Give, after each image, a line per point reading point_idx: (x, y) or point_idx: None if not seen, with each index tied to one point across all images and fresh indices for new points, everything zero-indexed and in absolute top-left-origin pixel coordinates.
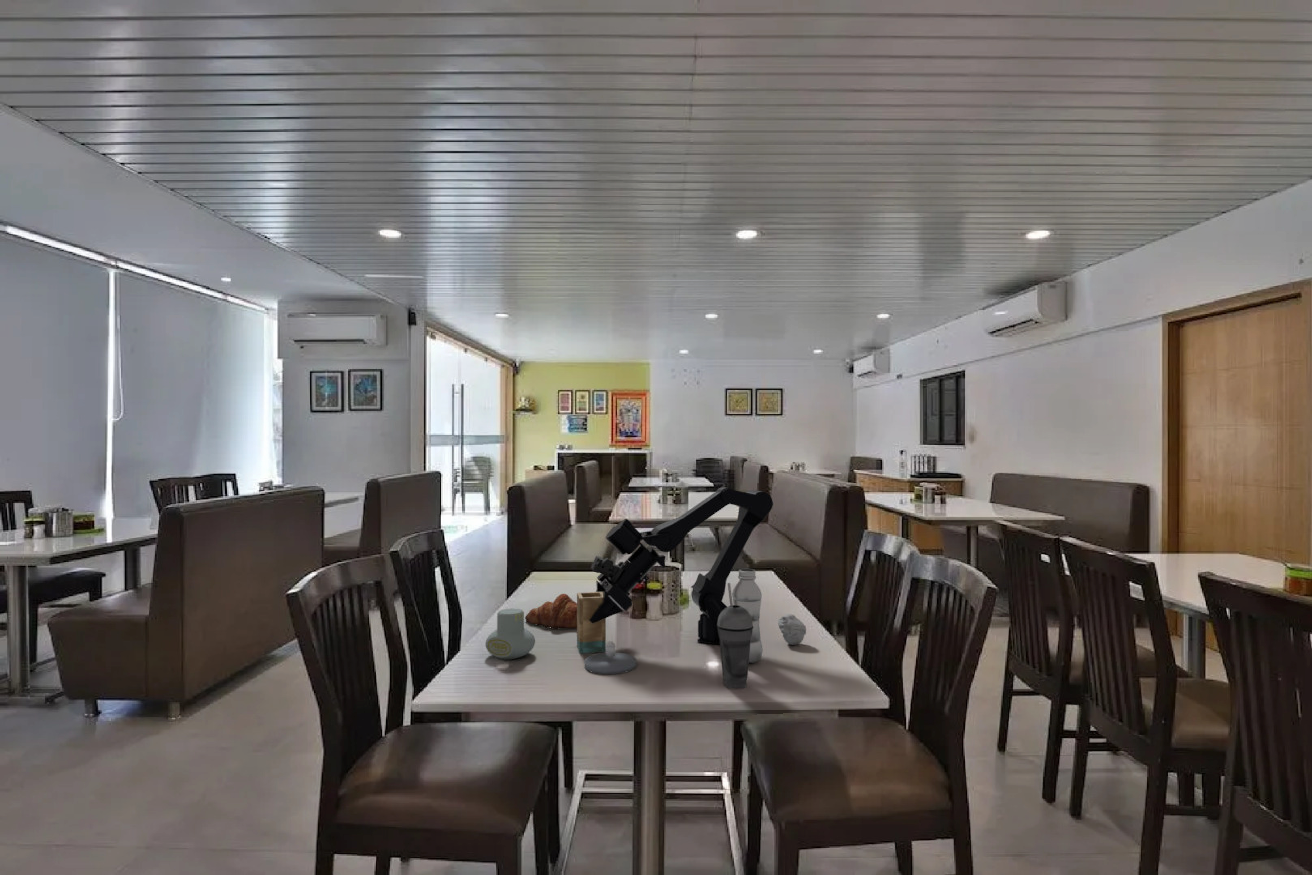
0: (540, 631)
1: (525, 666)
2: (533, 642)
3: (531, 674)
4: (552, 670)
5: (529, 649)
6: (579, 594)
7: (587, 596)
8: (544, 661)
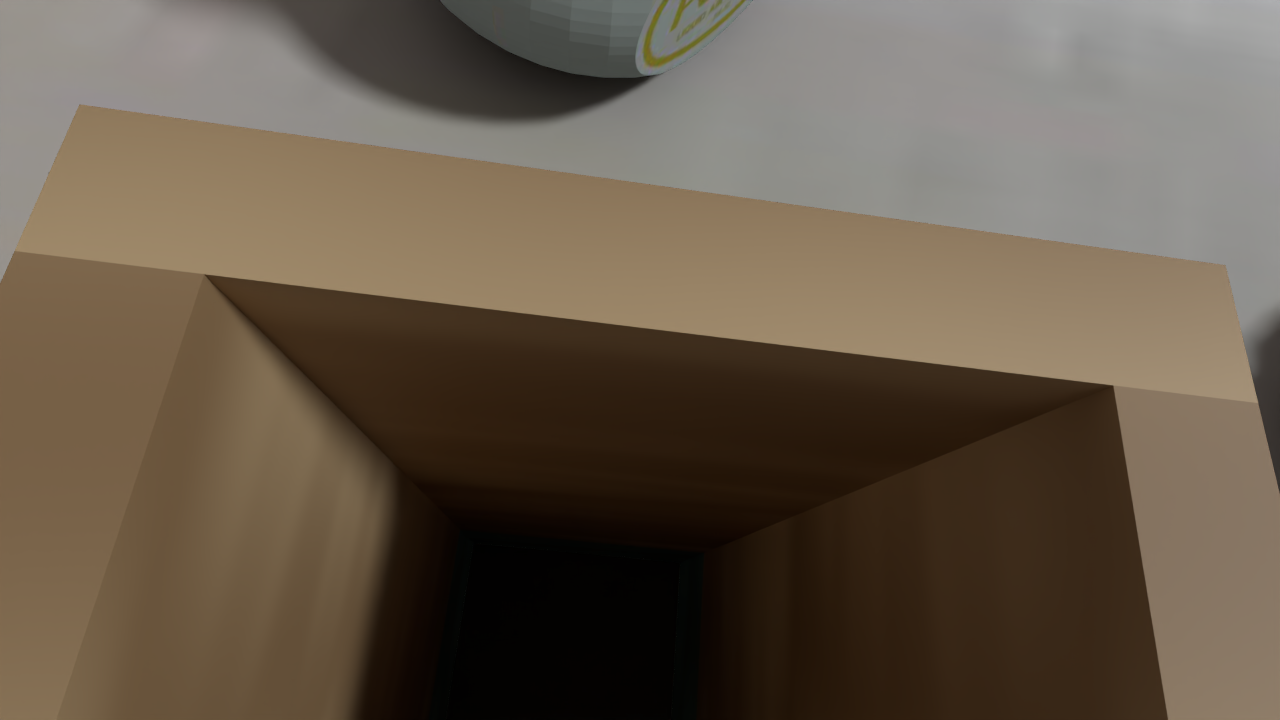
0: (1241, 290)
1: (269, 14)
2: (489, 9)
3: (35, 13)
4: (37, 167)
5: (452, 12)
6: (887, 282)
7: (1051, 717)
8: None
